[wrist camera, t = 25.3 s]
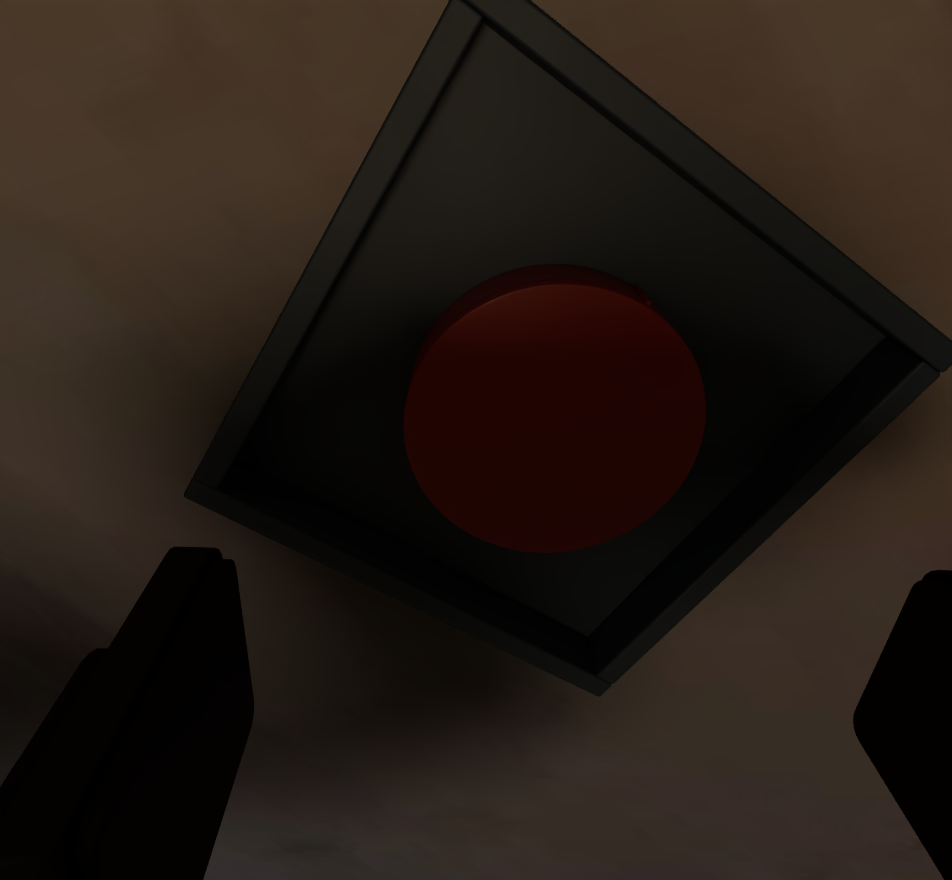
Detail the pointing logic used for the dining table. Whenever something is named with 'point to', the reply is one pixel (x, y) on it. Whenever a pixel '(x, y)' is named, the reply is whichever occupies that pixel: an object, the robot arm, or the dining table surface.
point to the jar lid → (552, 409)
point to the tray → (571, 243)
